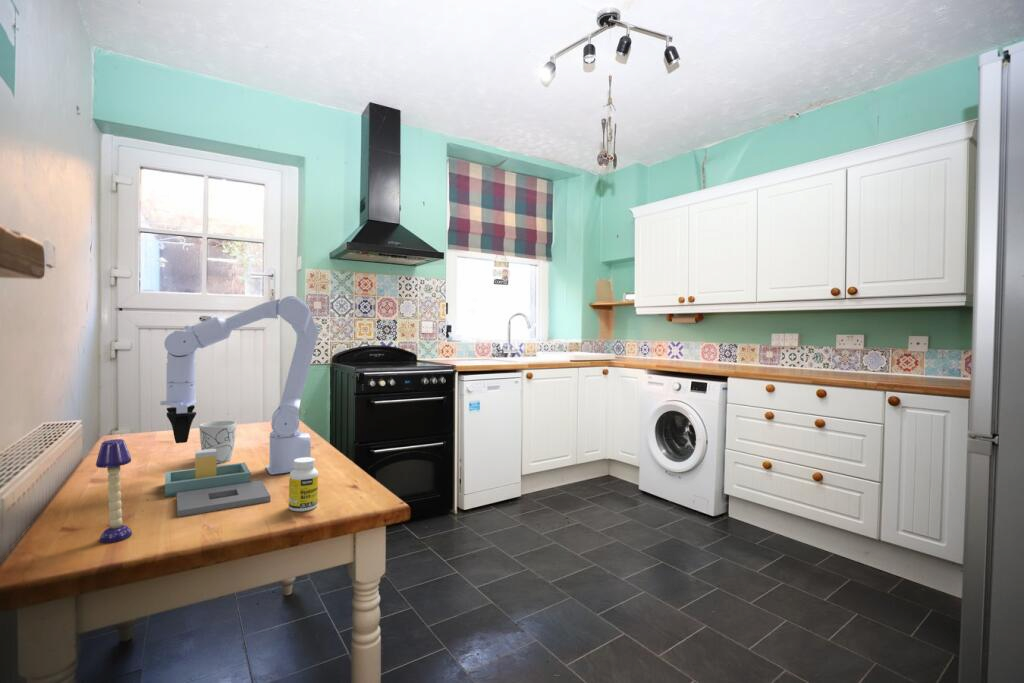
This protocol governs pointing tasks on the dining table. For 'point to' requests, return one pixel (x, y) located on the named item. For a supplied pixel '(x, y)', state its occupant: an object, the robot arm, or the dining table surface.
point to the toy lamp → (114, 487)
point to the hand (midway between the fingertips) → (181, 439)
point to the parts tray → (205, 479)
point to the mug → (218, 438)
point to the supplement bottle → (303, 485)
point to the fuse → (205, 463)
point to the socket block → (204, 499)
